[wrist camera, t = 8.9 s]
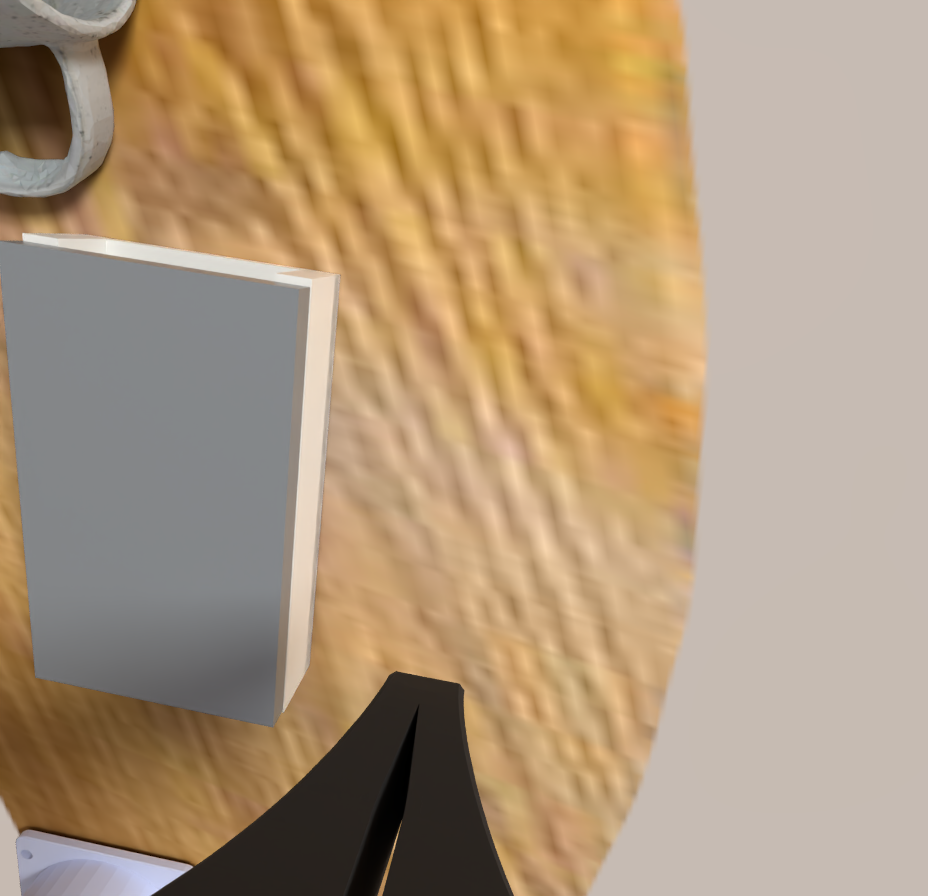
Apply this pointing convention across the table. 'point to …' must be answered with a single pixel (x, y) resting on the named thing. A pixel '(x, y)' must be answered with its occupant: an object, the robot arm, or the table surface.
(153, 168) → the table surface
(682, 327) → the table surface
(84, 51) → the ceramic mug
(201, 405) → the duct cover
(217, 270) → the cable duct
